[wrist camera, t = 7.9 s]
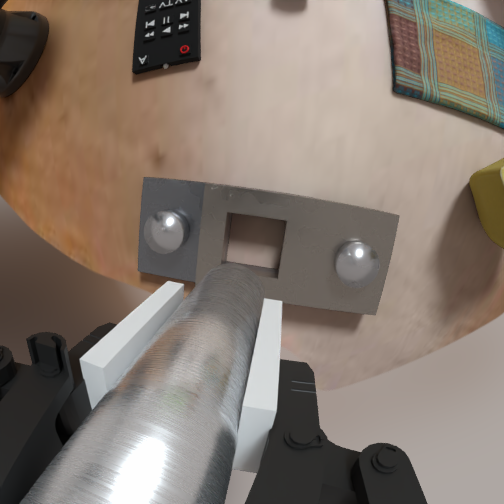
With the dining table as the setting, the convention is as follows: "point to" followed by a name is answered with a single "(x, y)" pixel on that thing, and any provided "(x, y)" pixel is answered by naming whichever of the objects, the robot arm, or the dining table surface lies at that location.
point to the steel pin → (168, 408)
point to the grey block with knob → (307, 247)
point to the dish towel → (448, 56)
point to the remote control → (166, 34)
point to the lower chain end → (175, 228)
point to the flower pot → (490, 199)
